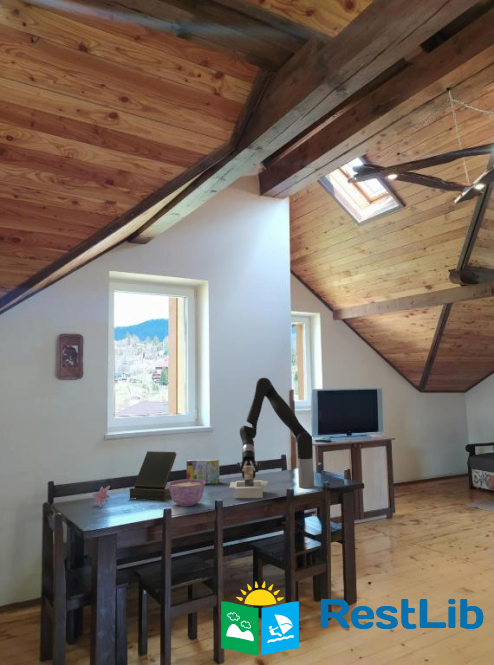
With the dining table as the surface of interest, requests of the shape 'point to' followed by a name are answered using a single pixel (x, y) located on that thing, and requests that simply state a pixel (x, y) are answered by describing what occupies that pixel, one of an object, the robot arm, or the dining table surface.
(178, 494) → the bowl of food
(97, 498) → the lily
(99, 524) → the dining table surface
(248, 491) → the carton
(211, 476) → the snack box
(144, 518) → the dining table surface
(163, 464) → the tilted panel on base
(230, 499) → the dining table surface
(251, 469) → the block
